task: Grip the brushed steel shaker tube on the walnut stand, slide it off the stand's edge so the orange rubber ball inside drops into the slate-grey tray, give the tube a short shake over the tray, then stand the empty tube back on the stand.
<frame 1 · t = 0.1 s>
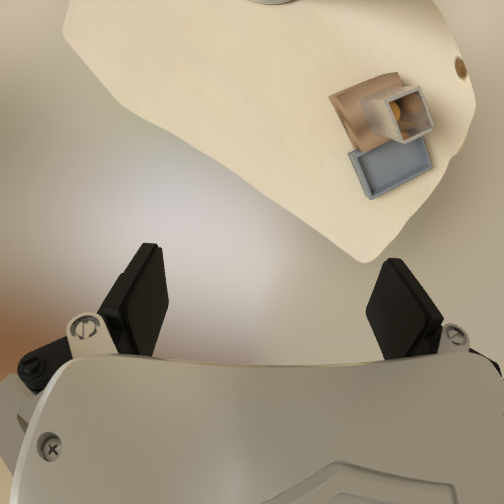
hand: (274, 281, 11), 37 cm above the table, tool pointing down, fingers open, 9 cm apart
tray: (390, 158, 43), on the table
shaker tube: (382, 110, 34), point 5 cm above the table, touching stand
ball: (387, 111, 33), point 7 cm above the table, touching stand
stand: (369, 109, 39), on the table
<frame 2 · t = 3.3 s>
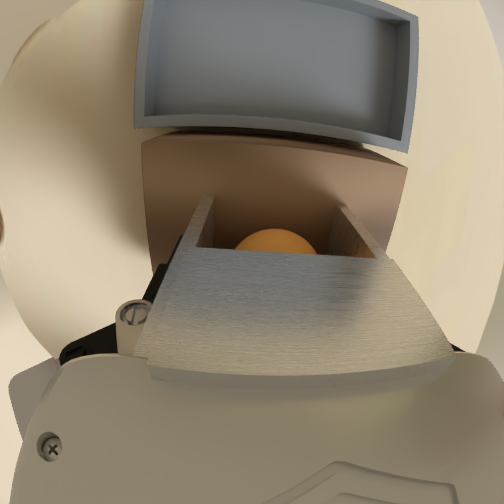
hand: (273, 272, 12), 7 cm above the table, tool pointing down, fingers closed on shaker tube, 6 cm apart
tray: (280, 55, 12), on the table
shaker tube: (271, 252, 13), point 5 cm above the table, touching gripper, stand
ball: (274, 277, 11), point 7 cm above the table, touching stand
stand: (266, 212, 17), on the table
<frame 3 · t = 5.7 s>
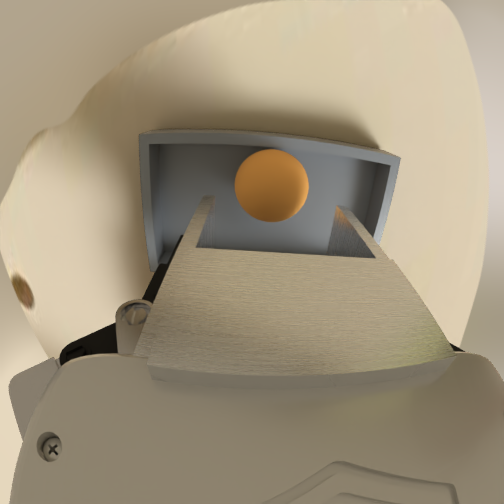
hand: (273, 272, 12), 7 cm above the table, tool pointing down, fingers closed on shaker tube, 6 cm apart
tray: (266, 200, 18), on the table
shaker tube: (271, 253, 13), point 6 cm above the table, touching gripper
ball: (271, 185, 14), point 3 cm above the table, tilted 26°, touching tray
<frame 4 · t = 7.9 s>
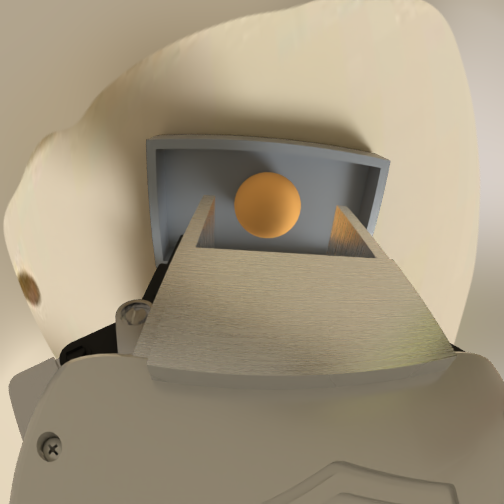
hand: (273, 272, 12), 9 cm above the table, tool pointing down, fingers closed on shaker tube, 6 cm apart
tray: (264, 201, 19), on the table
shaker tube: (271, 253, 13), point 7 cm above the table, touching gripper
ball: (267, 205, 16), point 3 cm above the table, tilted 5°, touching tray
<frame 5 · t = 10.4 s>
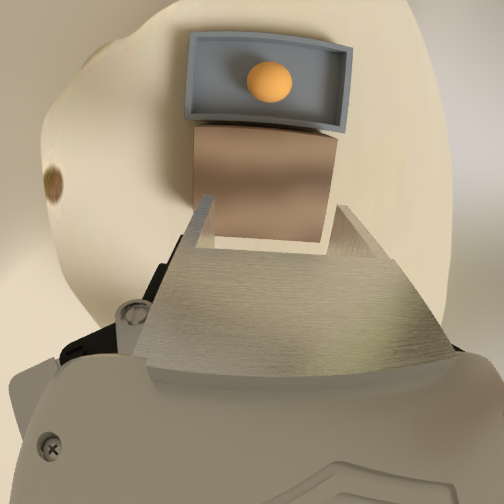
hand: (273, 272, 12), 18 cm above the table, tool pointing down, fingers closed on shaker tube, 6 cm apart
tray: (268, 79, 22), on the table
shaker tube: (271, 253, 13), point 17 cm above the table, touching gripper
ball: (269, 81, 20), point 3 cm above the table, tilted 41°, touching tray
stand: (260, 173, 27), on the table
when the fingers open (8 cm above the table, at t = 12.6 s): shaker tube drops 1 cm, resting on stand.
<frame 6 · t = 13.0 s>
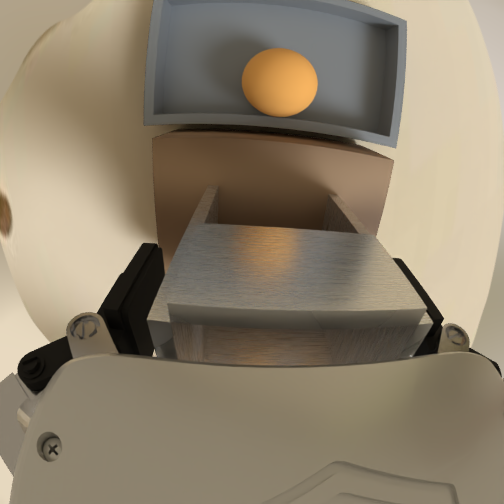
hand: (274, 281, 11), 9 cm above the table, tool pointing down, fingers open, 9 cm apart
tray: (278, 59, 14), on the table
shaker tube: (269, 238, 14), point 5 cm above the table, touching stand
ball: (279, 82, 12), point 3 cm above the table, tilted 79°, touching tray
stand: (265, 204, 19), on the table
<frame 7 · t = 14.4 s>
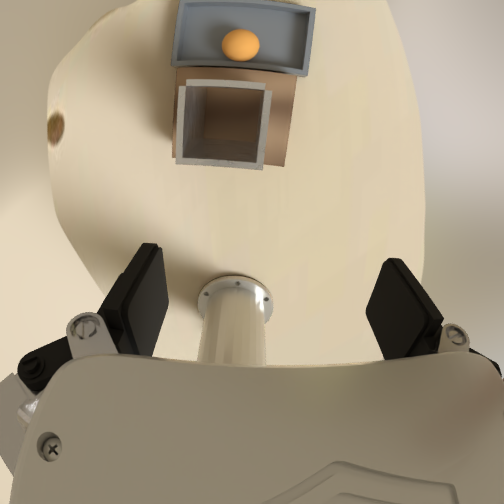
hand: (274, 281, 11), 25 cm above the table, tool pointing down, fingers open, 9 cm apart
tray: (243, 35, 24), on the table
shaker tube: (231, 114, 25), point 5 cm above the table, touching stand
ball: (240, 45, 22), point 3 cm above the table, tilted 79°, touching tray
stand: (234, 112, 29), on the table
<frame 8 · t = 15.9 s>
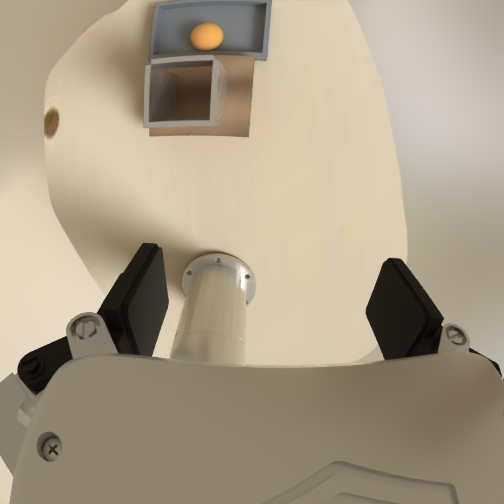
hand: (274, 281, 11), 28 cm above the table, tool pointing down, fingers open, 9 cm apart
tray: (211, 29, 26), on the table
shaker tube: (198, 94, 27), point 5 cm above the table, touching stand
ball: (206, 36, 25), point 3 cm above the table, tilted 77°, touching tray
stand: (205, 96, 31), on the table
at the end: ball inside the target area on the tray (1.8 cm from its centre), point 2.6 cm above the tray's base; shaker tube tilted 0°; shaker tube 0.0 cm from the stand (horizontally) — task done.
